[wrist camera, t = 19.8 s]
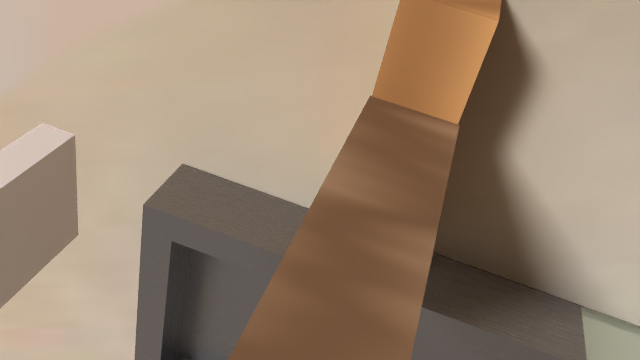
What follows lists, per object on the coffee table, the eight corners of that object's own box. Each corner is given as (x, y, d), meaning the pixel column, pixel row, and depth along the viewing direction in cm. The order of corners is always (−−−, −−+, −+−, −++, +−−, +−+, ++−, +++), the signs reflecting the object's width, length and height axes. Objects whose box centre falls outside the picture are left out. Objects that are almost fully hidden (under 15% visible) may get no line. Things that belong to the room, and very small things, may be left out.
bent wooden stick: (504, -9, 17) (470, 281, 7) (415, 219, 22) (314, 594, 12) (417, -34, 18) (256, 204, 7) (348, 196, 23) (191, 541, 12)
